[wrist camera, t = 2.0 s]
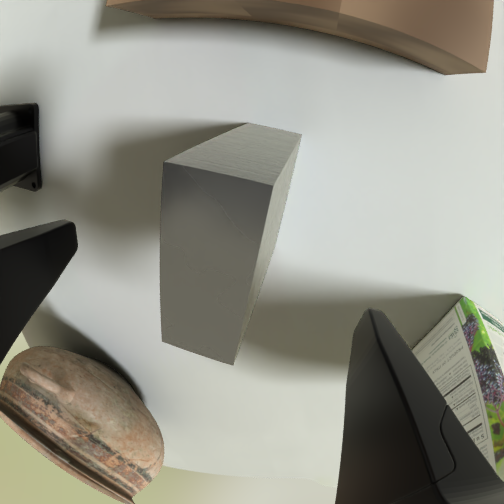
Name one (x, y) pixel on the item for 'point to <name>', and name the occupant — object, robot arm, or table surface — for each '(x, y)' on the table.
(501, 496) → the robot arm
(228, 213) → the upright grey stone slab
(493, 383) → the syrup box
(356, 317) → the table surface
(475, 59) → the post block
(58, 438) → the cooking pot
